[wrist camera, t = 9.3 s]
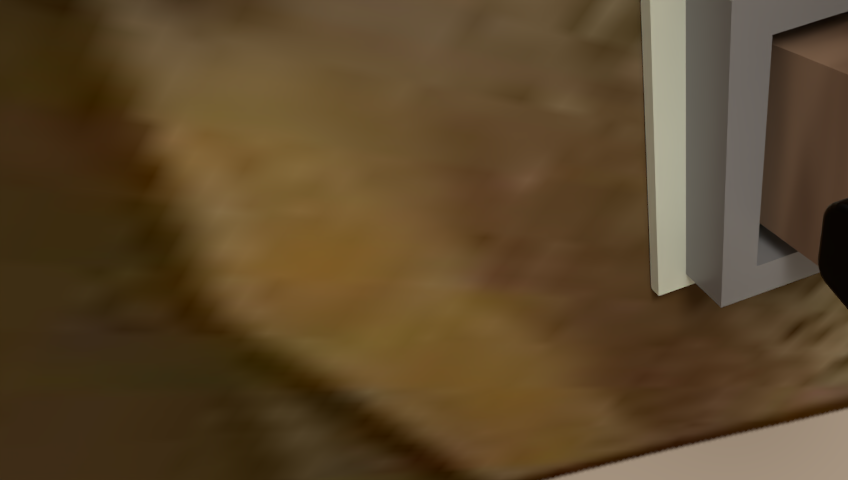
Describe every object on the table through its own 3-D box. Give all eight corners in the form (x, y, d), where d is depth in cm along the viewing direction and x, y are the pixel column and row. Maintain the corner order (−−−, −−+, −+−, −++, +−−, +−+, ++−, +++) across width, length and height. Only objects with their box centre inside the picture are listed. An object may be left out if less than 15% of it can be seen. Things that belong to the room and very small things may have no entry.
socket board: (962, -126, 20) (1049, -119, 18) (898, 201, 26) (958, 234, 24) (639, -29, 19) (693, -10, 17) (651, 288, 25) (691, 330, 23)
